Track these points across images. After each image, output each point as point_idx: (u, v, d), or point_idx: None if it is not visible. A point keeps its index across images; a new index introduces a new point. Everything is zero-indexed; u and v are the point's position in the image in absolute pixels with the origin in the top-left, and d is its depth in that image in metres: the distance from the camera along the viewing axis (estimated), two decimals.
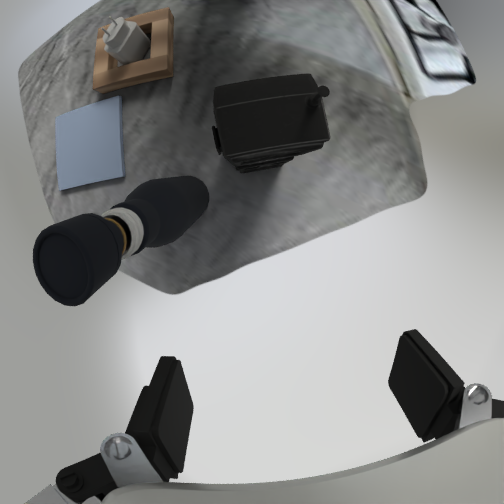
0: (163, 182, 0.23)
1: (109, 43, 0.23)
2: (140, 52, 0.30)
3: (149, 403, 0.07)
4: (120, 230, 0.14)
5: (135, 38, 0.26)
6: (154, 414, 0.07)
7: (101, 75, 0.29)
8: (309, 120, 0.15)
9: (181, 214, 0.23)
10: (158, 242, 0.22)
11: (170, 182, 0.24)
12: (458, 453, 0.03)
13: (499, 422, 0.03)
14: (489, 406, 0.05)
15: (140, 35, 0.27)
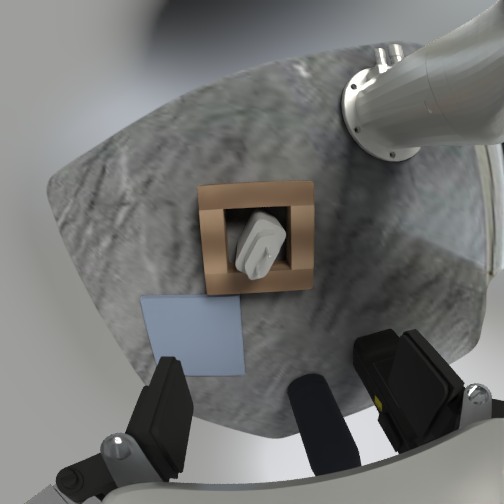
0: (350, 453, 0.24)
1: None
2: None
3: (149, 403, 0.07)
4: None
5: None
6: (154, 414, 0.07)
7: (218, 278, 0.30)
8: None
9: None
10: None
11: (351, 448, 0.25)
12: (458, 453, 0.03)
13: (499, 422, 0.03)
14: (489, 406, 0.05)
15: None
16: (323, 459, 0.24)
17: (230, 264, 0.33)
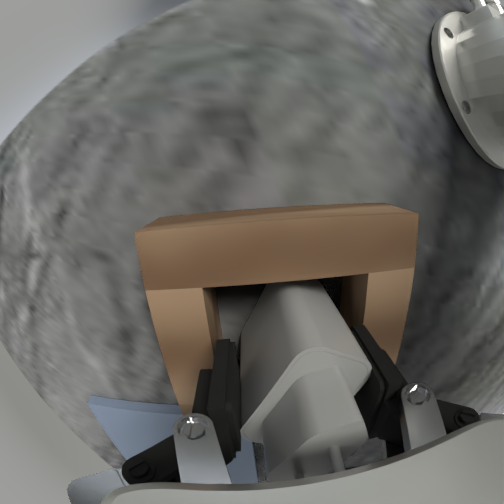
0: None
1: None
2: None
3: (217, 381, 0.08)
4: None
5: None
6: (225, 391, 0.08)
7: None
8: None
9: None
10: None
11: None
12: (458, 453, 0.03)
13: (499, 422, 0.03)
14: (433, 401, 0.06)
15: None
16: None
17: None
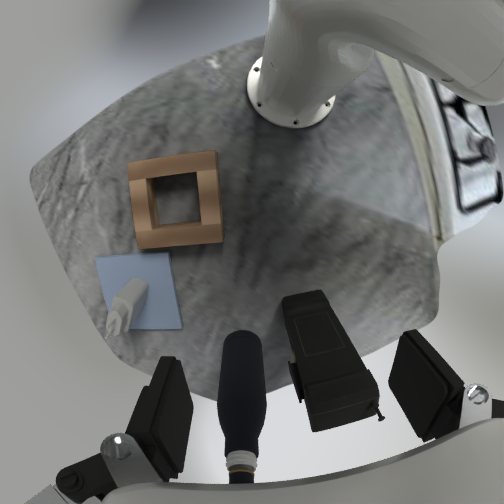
0: (250, 398, 0.30)
1: None
2: (142, 303, 0.39)
3: (149, 403, 0.07)
4: (252, 474, 0.21)
5: (135, 309, 0.36)
6: (153, 414, 0.07)
7: (145, 234, 0.36)
8: (366, 411, 0.22)
9: (264, 418, 0.29)
10: None
11: (254, 394, 0.30)
12: (458, 453, 0.03)
13: (499, 422, 0.03)
14: (489, 406, 0.05)
15: (138, 302, 0.36)
16: (223, 399, 0.30)
17: (159, 225, 0.38)
